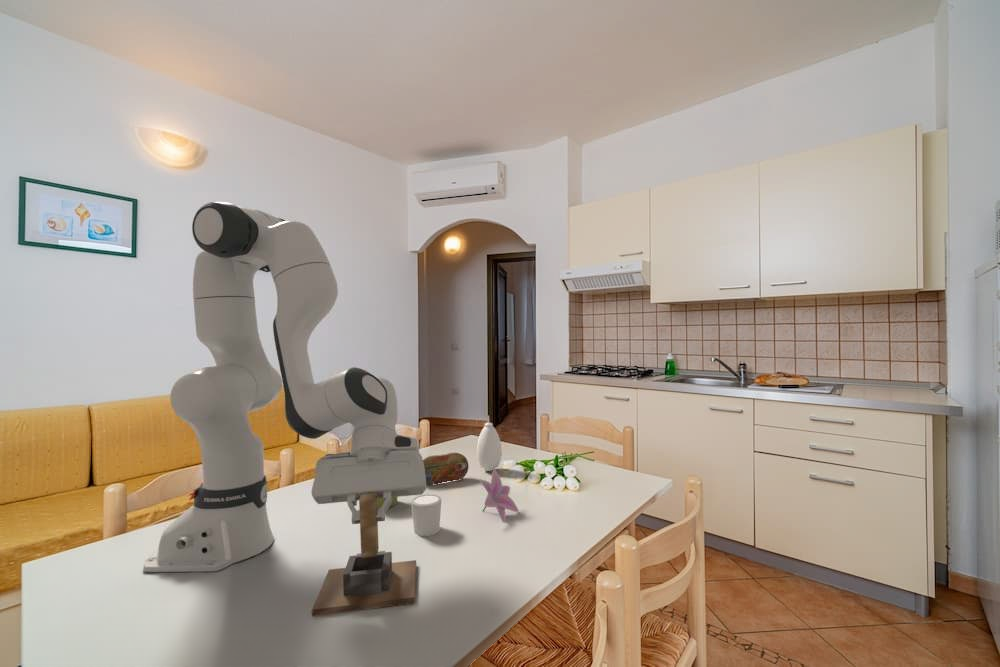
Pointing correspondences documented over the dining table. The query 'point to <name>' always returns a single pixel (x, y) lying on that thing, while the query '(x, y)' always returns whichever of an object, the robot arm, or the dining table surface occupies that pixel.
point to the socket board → (367, 585)
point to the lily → (498, 495)
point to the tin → (445, 468)
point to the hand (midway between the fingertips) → (368, 521)
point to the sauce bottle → (489, 447)
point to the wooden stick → (368, 525)
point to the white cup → (426, 514)
